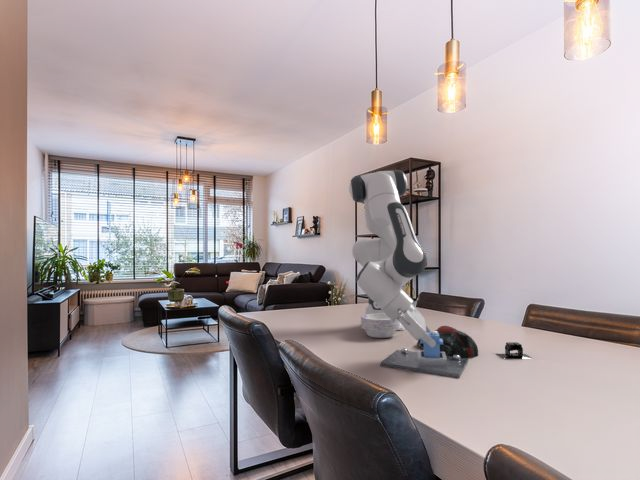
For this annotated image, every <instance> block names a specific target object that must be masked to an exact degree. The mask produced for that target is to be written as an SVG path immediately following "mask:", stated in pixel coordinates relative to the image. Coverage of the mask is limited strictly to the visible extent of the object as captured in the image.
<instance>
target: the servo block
mask: <svg viewBox="0 0 640 480" xmlns="http://www.w3.org/2000/svg"><path fill="white" fill-rule="evenodd" d="M426 333H427V334H428V335H429V336H430V337H431V338H432V339H433V340H434V341H435V342H436V345H435V346H434V347H430V346H429V345H428V344H427V343H426V342H425V341H423V340H422V339H421V338H420V343H424V349H423V351H424V357H434V358H440V344H443V339H441V338H439V333H438V331H434V330H430V332H426Z"/></svg>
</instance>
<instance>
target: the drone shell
mask: <svg viewBox="0 0 640 480" xmlns="http://www.w3.org/2000/svg"><path fill="white" fill-rule="evenodd" d="M433 331H438V333H439V338H441V339H443V344H440V352H445V354H446V356H451V357H453V355H460V358H467V359H473V358H476V357H478V356H479V350H478V349H479V348H478V345H477V343H476V341H475V340H474V339H473V338H472V336H470V335H469V334H467V333H466V332H464V331H462V330H461V331H460V330H458V329H456V328H454V327H452V326H448V325H440V326H439V327H438V328H437V329H435V330H433ZM417 344H418V347H419V348H421V349H423V350H424V343H420V339H419V340H417Z"/></svg>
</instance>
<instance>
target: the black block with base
mask: <svg viewBox="0 0 640 480" xmlns="http://www.w3.org/2000/svg"><path fill="white" fill-rule="evenodd" d="M522 346H523V345H522V344H521V343H519V342H516V341H515V342H512V341H511V342H509V341H508V342H505V345H504V353H495V355H496V356H498V357H499V358H501V359H507V360H508V359H509V360H510V359H511V360H513V359H514V360H533V359H534V358H533V357H531V356H530V355H528V354H527V353H524V348H523V347H522ZM514 351H517V352H514Z"/></svg>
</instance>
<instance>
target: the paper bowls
mask: <svg viewBox="0 0 640 480" xmlns="http://www.w3.org/2000/svg"><path fill="white" fill-rule="evenodd" d="M360 325H361V326H360V328H361V329H362V330H363V331H365V333H366V335H367V336H368V337H370V338H376V339H389V338H392V337H393V336H394V335H395V333H396V331H399V330H398V329H400V322H399V321H398V320H397V319H396V320H395V321H392V320H391V319H390V318H389V317H388V316H387V315H386V314H385V313H374V314H366V315H365V314H363V315H361V316H360Z"/></svg>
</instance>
